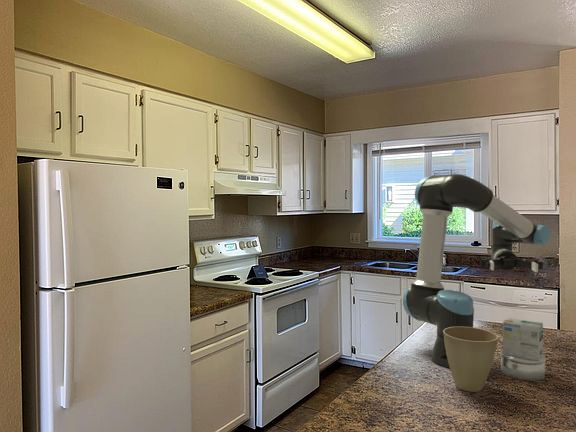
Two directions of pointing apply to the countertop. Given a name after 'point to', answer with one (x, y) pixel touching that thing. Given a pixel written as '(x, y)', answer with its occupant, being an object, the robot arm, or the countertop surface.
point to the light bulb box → (523, 339)
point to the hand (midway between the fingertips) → (514, 267)
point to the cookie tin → (523, 367)
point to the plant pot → (470, 355)
